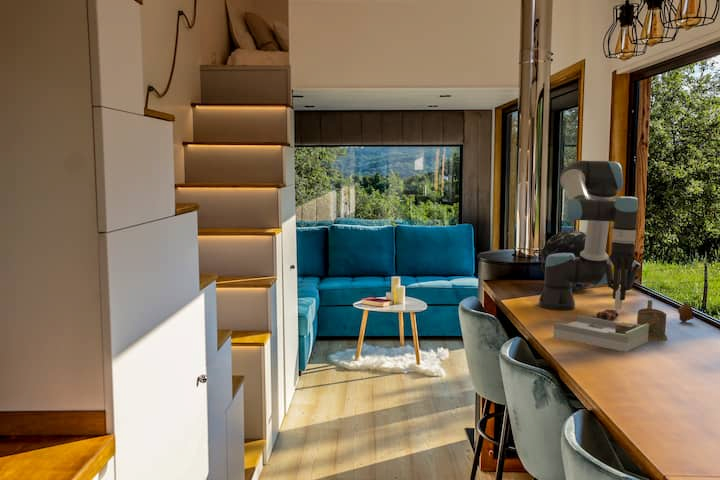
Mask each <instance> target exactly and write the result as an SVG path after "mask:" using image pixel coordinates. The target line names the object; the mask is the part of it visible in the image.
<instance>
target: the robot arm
mask: <svg viewBox="0 0 720 480" xmlns="http://www.w3.org/2000/svg"><path fill="white" fill-rule="evenodd" d="M623 175H624V174H623V169H622V166H621V164H620V163H619V162H617V161H610V160H603V161H602V160H577V161H574V162H571V163H569V164H568V165H567V166H566V167H564V169H563V170H562V172H561V173H560V175H559V182H560V186H561V187H562V189H563V190H564V191H565V193H566V195H567V201H566V203H565V217H566V219H568V220H571V221H572V220H574V221H587V225H586V230H585V231H586V232H585V233H586V239H585V247H584V250H583V251H581V252H580V257H575V256H574V254H573V253H556V254H551V255H548V256H547V258H546V264H545V274H544V282H543V289H542V291H541V294H540V296H539V299H538V306H539V307H541V308H544V309H549V310H557V311H571V310H574V309H575V308H576V302H575V298H574V294H573V290H572V284H586V285H589V286H604V285H606V284H607V287H608V288H610V289H612V299H613V300H614V307H613V308H614V309H613V310H616V311H619V310H622V307H623V301H625V300H626V295H627V294H626V293H627V292H626V291H629V290H632V289H633V286H634V282H635V279H636V277H637V274H638V271H639V270H640V268H641V267H642V263H640V262H637V261H636V257H635V249H636V248H635V246H636V244H635V241H636V235H637V222H638V211H639V199H638V198H637V197H635V196H618V192H621V191H623V185H624V177H623ZM614 198H615V199H614ZM613 199H614V200H613ZM611 222H613V224H612V225H613V226H612V236H611V240H612V242H611V245H610V246H611V247H610V248H611V249H610V255H609V254H608V253H607V252H606V249H607V241H608V234H609V227H610V223H611ZM612 265H613V268H612ZM631 266H632V269H631V271H630V273H629V278H628V272H629V269H630V267H631ZM612 269H613V270H612Z"/></svg>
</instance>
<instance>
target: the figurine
mask: <svg viewBox="0 0 720 480" xmlns="http://www.w3.org/2000/svg"><path fill="white" fill-rule="evenodd" d="M596 316H597V317H598V318H599V319H602V320H607V321H612V320H614V319H616V318H618V317H619V313H618V310H617V309H610V308H609V309H604V310H603V311H598V312H597V313H596Z"/></svg>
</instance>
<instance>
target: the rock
mask: <svg viewBox="0 0 720 480" xmlns="http://www.w3.org/2000/svg"><path fill="white" fill-rule="evenodd" d="M692 306H693V307H694V308H697V305H696V302H695V301H691V304H690V303H688V302H685V303H683V304H682V306H680V307H678V308H677V313H679V321H681V323H686V322H687V321H690V320H694V313H693V312H694V311H693V308H692Z"/></svg>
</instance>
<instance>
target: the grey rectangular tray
mask: <svg viewBox="0 0 720 480" xmlns="http://www.w3.org/2000/svg"><path fill="white" fill-rule="evenodd" d="M576 318H577V319H576V321H573V322H570V323H567V324H564V323H558V322H554V324H553V338H557V339H561V340H566V341H570V342H575V343H576V342H577V343H579V344H581V343H582V344H585V345H586V344H587V345H591V346H595V347H599V348H600V347H601V348H606V349H610V350H615V351H620V352H625V353H626V352H627V353H628V352H629V351H631V350H634V349H635V348H637V347H641V346H642V345H644V344H646V343H648V342H649V340H648V331H649V324H648V323H646V324H644V325H639V324H637V323H632V322H628V323H629V324H634V325H636V328H634V329H632V330H630V331H627V332H625V334H620V333H615V328H616V324H618V323H620V322H619V321H613V320H610V321H607V320H602V319H601V318H596V317H595V318H594V317H590V316H585V315H577V317H576Z"/></svg>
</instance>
